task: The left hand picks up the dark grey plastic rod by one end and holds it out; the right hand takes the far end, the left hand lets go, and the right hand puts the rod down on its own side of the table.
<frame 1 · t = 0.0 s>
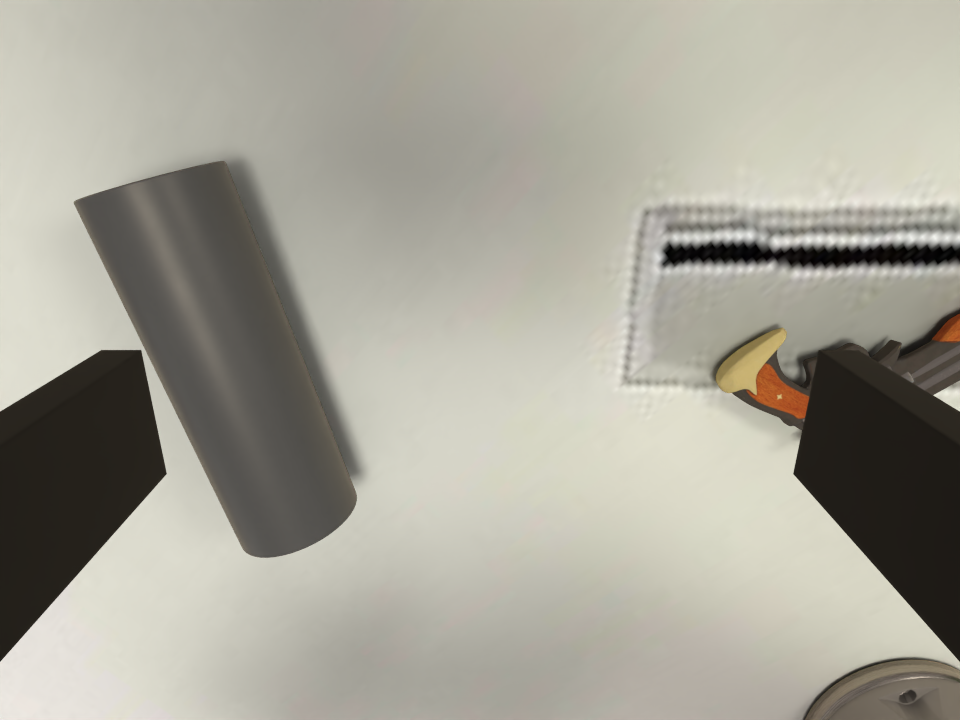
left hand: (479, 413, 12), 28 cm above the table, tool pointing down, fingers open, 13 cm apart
toy gun: (865, 349, 42), on the table
rod: (255, 344, 42), on the table
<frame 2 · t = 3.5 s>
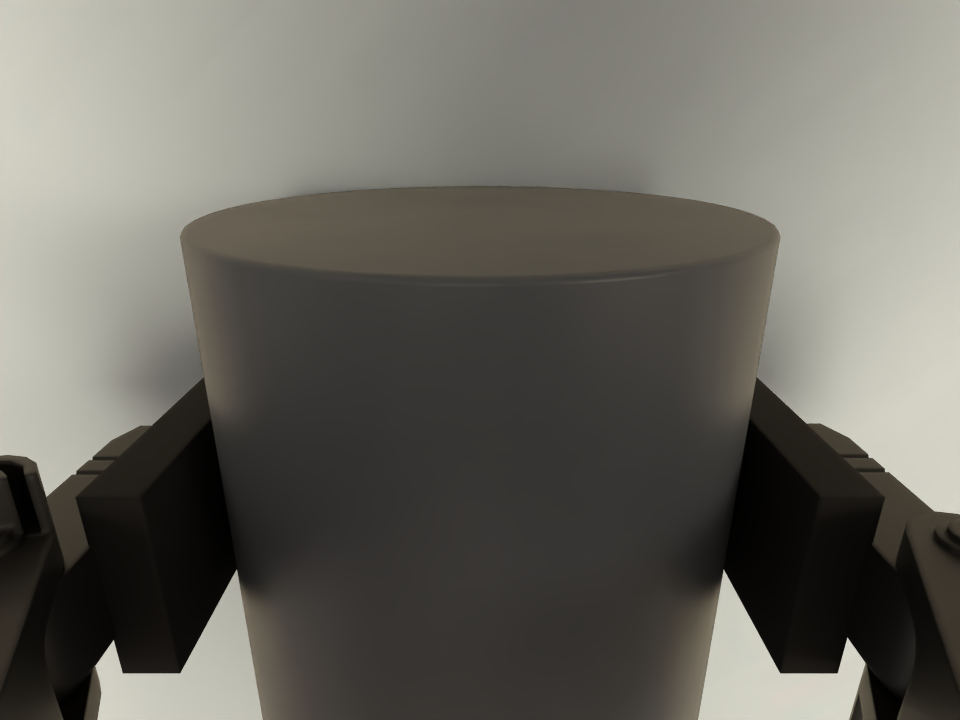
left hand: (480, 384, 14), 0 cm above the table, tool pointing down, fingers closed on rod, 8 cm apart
rod: (480, 620, 17), on the table, touching left hand
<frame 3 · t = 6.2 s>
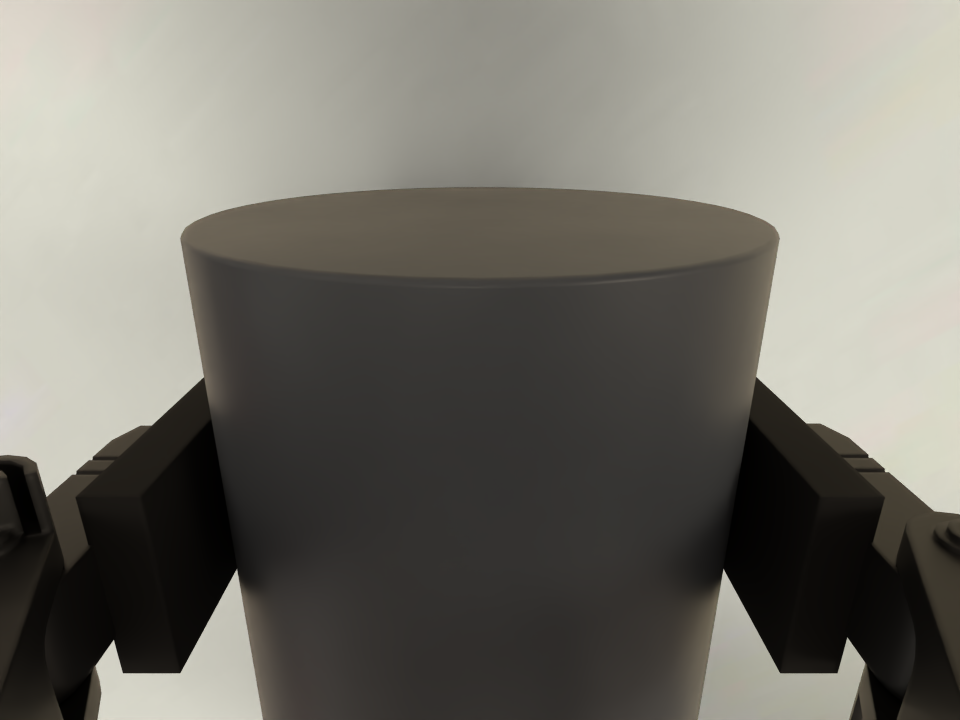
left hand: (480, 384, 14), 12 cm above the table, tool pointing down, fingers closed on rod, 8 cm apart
rod: (480, 620, 17), point 11 cm above the table, touching left hand
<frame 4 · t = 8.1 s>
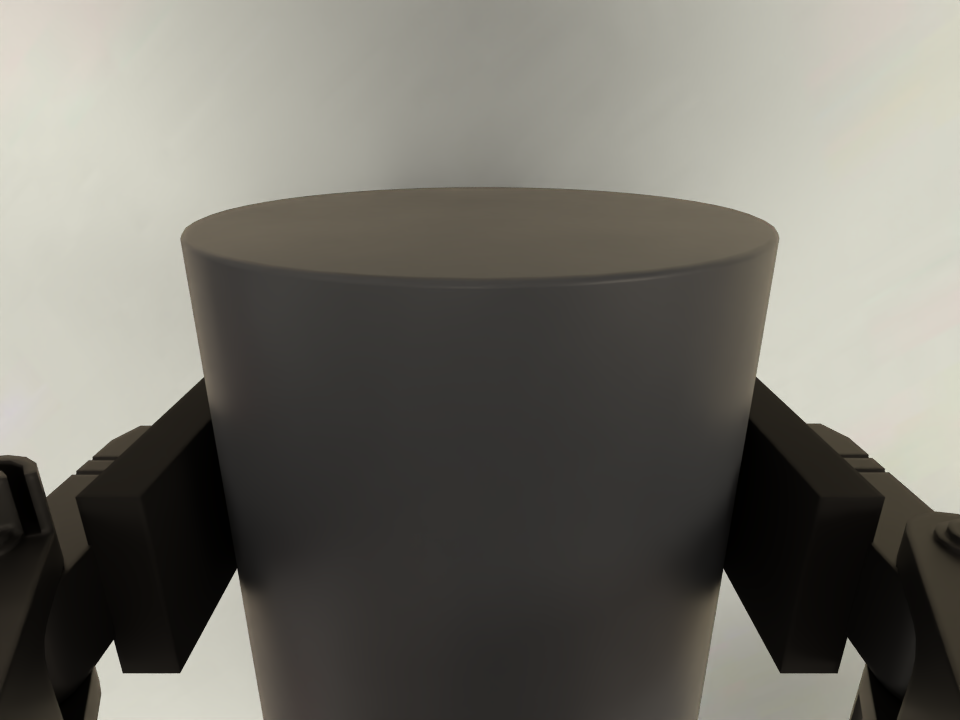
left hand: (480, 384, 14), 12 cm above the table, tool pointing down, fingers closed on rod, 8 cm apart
rod: (480, 620, 17), point 11 cm above the table, touching left hand, right hand
when the left hand's fingers open (12 cm above the table, at t = 9.1 s): rod stays where it is, held by the right hand.
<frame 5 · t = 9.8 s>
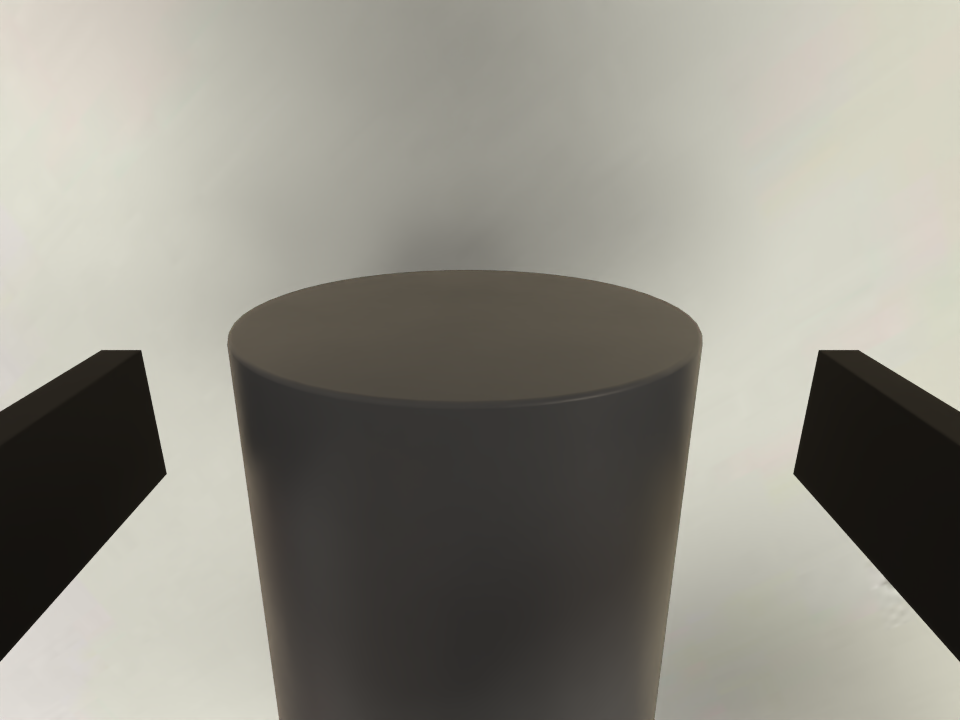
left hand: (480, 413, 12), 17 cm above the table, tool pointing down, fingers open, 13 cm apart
rod: (469, 645, 18), point 13 cm above the table, touching right hand
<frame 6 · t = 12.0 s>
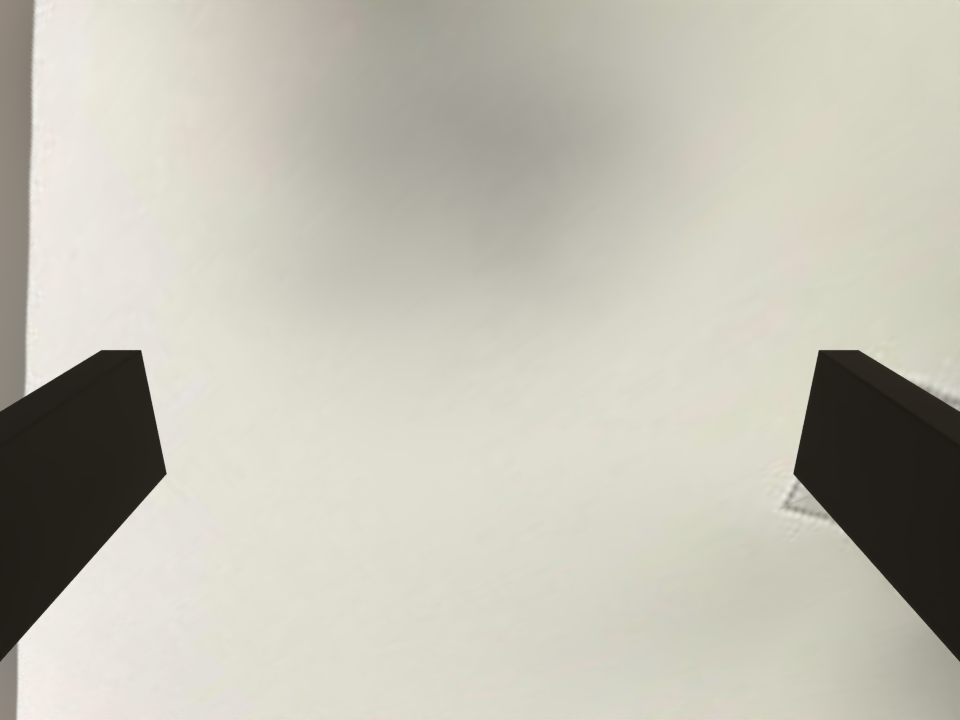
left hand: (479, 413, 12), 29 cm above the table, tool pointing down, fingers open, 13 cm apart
when the right hand's fingers open (2 cm above the table, at t = 15.9 s): rod drops 2 cm, on the table.
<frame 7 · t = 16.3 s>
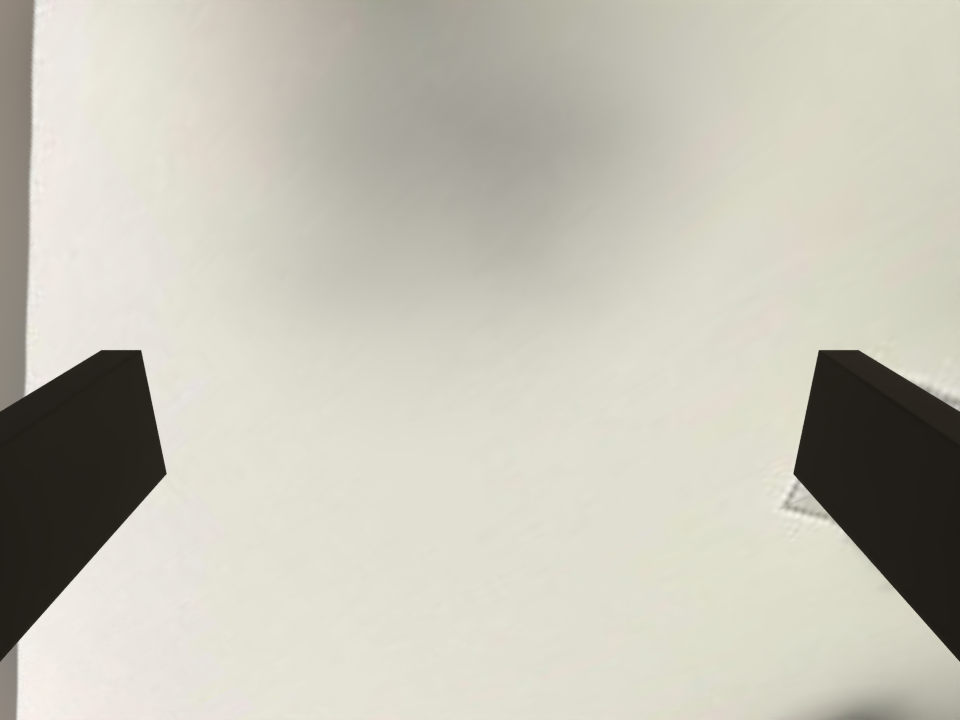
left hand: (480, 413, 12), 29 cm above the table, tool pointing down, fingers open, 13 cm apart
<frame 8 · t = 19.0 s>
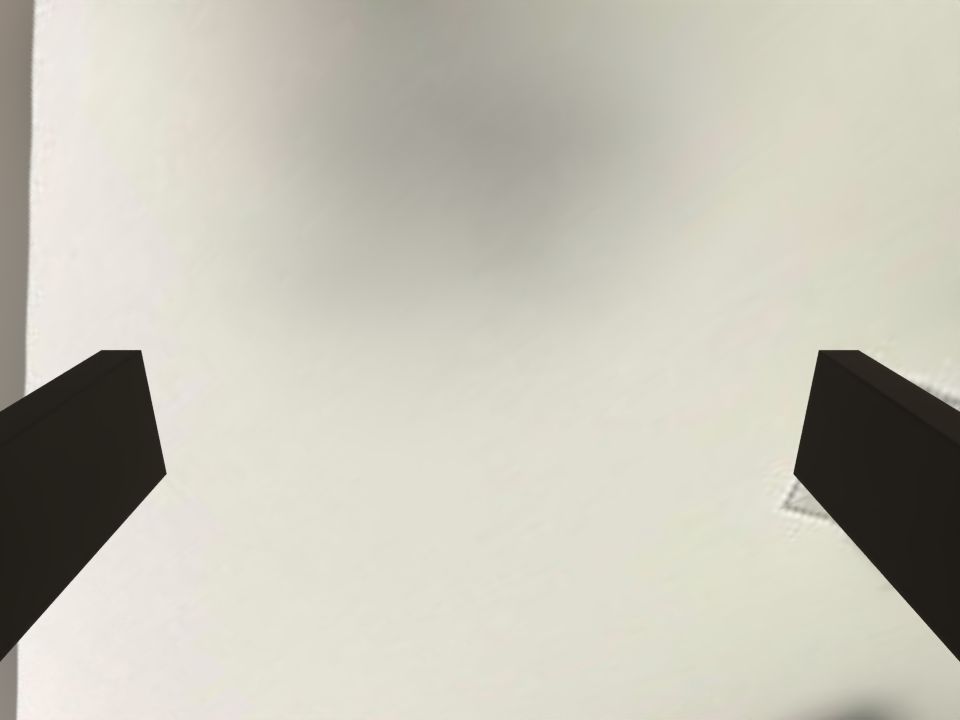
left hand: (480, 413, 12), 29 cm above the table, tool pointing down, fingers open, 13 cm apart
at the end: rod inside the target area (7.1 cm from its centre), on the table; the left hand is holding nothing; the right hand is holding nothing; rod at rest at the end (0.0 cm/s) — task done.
